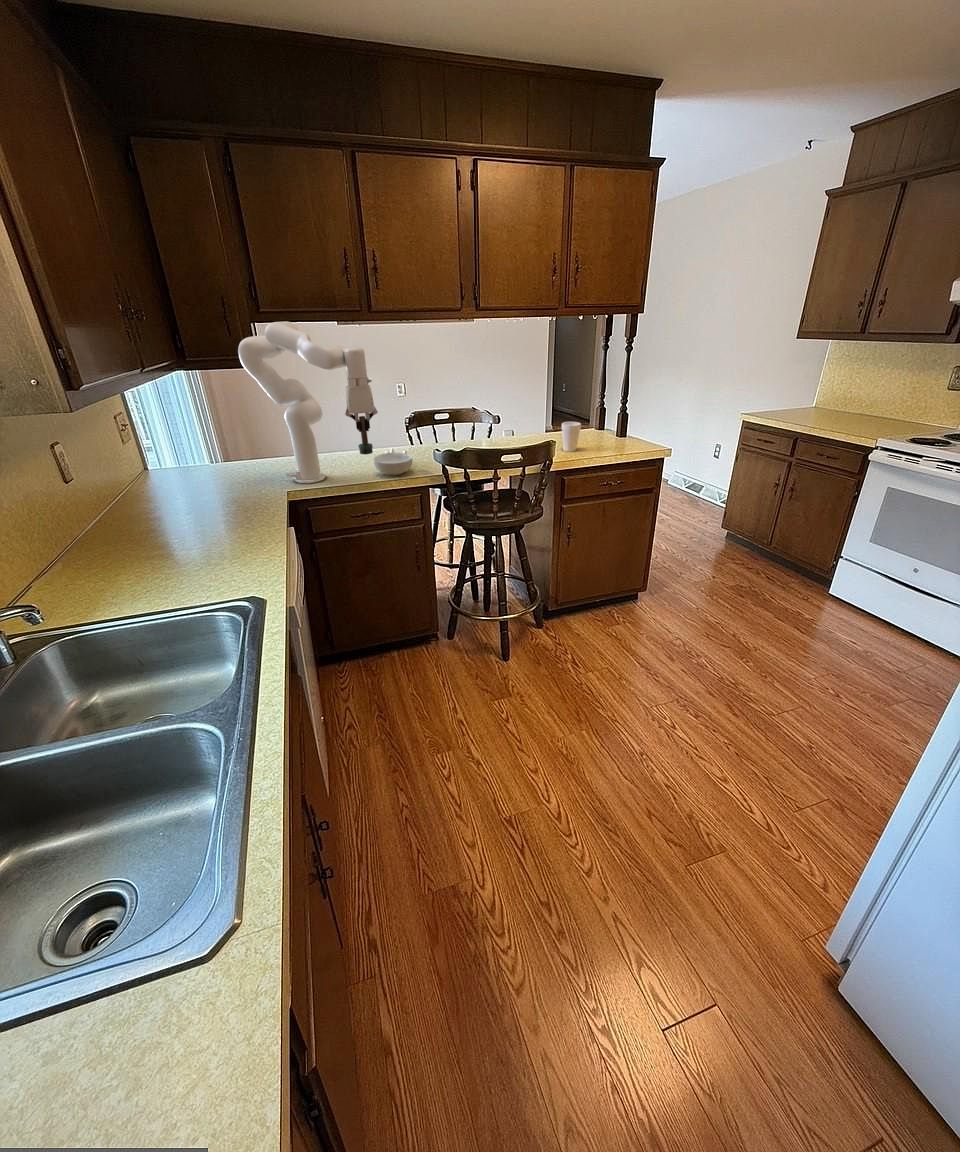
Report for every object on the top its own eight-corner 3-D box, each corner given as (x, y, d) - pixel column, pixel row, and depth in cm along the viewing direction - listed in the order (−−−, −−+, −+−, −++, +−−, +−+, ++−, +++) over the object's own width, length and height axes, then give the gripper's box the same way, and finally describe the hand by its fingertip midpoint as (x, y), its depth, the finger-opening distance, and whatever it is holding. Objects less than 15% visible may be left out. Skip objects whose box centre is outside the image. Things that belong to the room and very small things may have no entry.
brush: (360, 455, 208) (355, 418, 201) (358, 451, 212) (353, 415, 205) (374, 453, 209) (370, 417, 202) (371, 450, 214) (367, 414, 207)
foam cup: (558, 447, 266) (559, 421, 259) (575, 447, 267) (577, 421, 260) (562, 452, 257) (564, 426, 251) (581, 451, 258) (583, 425, 252)
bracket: (404, 467, 241) (406, 451, 238) (389, 465, 238) (391, 449, 235) (398, 460, 252) (401, 445, 249) (384, 458, 249) (386, 442, 246)
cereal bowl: (374, 479, 223) (373, 463, 219) (375, 468, 237) (373, 453, 234) (414, 477, 225) (413, 461, 222) (412, 466, 239) (411, 451, 236)
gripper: (376, 379, 203) (381, 427, 212) (335, 382, 199) (342, 430, 207) (380, 382, 197) (385, 431, 206) (337, 385, 192) (344, 434, 201)
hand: (363, 430), depth 207 cm, fingers closed on brush, 2 cm apart
